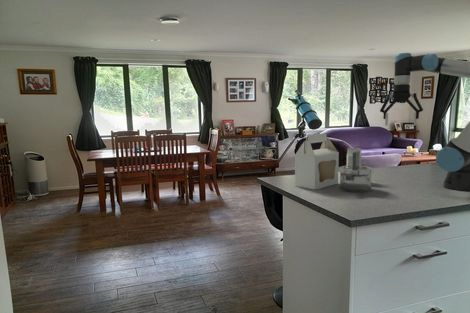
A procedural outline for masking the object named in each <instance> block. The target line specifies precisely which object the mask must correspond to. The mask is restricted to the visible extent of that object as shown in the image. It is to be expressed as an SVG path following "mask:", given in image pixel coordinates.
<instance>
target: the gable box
mask: <svg viewBox="0 0 470 313" xmlns="http://www.w3.org/2000/svg"><path fill="white" fill-rule="evenodd" d="M316 143H321V145H320V148H319V149H318V148H317V149H313V147H312V144H316ZM339 153H340V152H339V151H338V149H337V148H336V147H335V144H333V142H332V141H331V139H330V138H328V136H327V133H325V132H324V133H316V134H308V135H307V136H305V141H303V143H302V144H301V145H300V147H299V148H298V150H297V151H296V153H295V154H294V187H299V188H303V189H308V190H315V191H316V190H318V189H322V188H326V187H329V186H333V185H338V184H339V171H338V168H339V167H340V166H339V163H340V162H339V160H340V159H339V157H340V156H339Z"/></svg>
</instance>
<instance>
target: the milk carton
mask: <svg viewBox="0 0 470 313" xmlns="http://www.w3.org/2000/svg"><path fill="white" fill-rule="evenodd" d="M356 151H360V158H359V166H362V159H363V158H362V148H361V147H353V148H352V147H349V148H348V147H347V152H346V166H350V165H353V152H356Z"/></svg>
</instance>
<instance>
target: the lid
mask: <svg viewBox="0 0 470 313" xmlns="http://www.w3.org/2000/svg"><path fill="white" fill-rule="evenodd" d="M359 158H360V151H356V152H353V166H352V168H347V169H349V170H366V169H363V168H359Z"/></svg>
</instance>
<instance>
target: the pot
mask: <svg viewBox="0 0 470 313" xmlns="http://www.w3.org/2000/svg"><path fill="white" fill-rule="evenodd" d="M352 166H353V165H350V166H347V165H342V166H338V173H339V174H340V176H339V180H340V181H339V188H340V190H341V191H343V190H344V192H349V193H367V192H368V193H369V192H371V190H372V174H373V173H374V167H371V166H367V165H361V166H359V168H363V169H366V170H349V169H347V168H352Z"/></svg>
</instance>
